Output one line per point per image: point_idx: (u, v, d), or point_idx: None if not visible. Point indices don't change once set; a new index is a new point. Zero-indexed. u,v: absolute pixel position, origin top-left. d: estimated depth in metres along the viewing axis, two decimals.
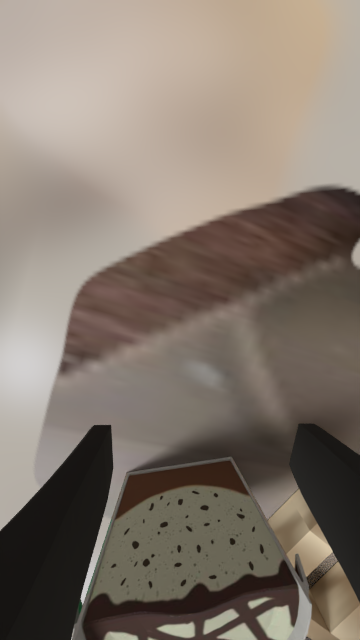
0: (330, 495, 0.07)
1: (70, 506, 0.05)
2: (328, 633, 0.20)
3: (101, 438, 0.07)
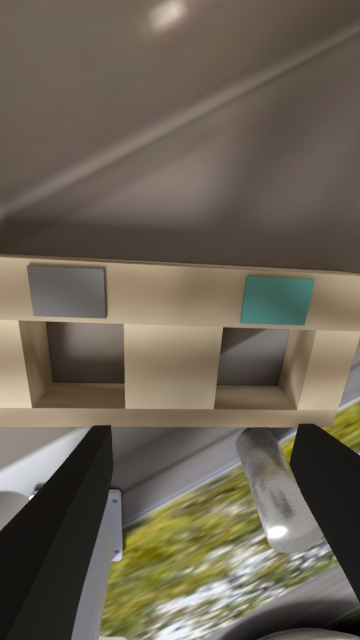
0: (330, 495, 0.07)
1: (70, 506, 0.05)
2: (124, 410, 0.16)
3: (101, 438, 0.07)
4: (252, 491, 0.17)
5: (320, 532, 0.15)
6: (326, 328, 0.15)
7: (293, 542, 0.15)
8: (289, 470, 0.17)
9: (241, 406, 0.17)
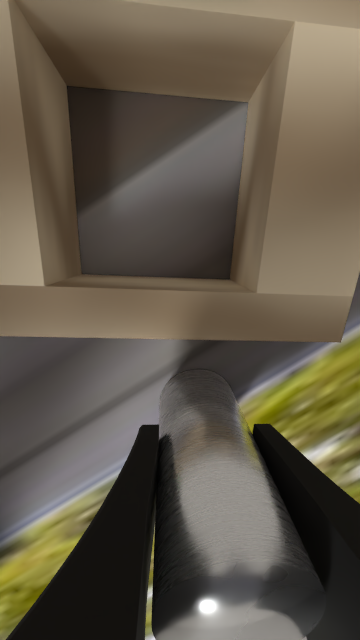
0: None
1: (148, 504, 0.05)
2: None
3: (155, 437, 0.08)
4: (156, 490, 0.07)
5: (313, 611, 0.05)
6: (323, 15, 0.05)
7: None
8: (241, 440, 0.07)
9: (121, 287, 0.07)
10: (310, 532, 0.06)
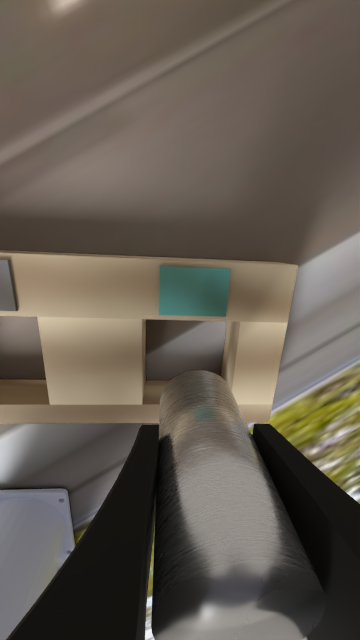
0: None
1: (148, 504, 0.05)
2: (48, 406, 0.15)
3: (155, 437, 0.08)
4: (156, 492, 0.07)
5: (312, 611, 0.05)
6: (250, 319, 0.14)
7: None
8: (240, 441, 0.07)
9: None
10: (310, 532, 0.06)
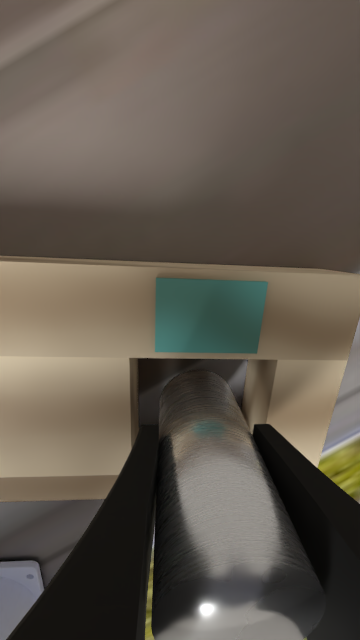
0: None
1: (147, 504, 0.05)
2: None
3: (155, 437, 0.08)
4: (156, 492, 0.07)
5: (313, 611, 0.05)
6: (293, 356, 0.10)
7: None
8: (240, 441, 0.07)
9: None
10: (310, 532, 0.06)
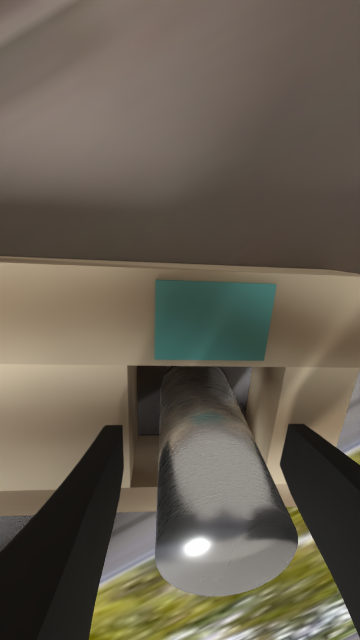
0: (317, 495, 0.07)
1: (89, 505, 0.05)
2: None
3: (114, 438, 0.07)
4: (158, 461, 0.08)
5: (287, 546, 0.06)
6: (302, 363, 0.09)
7: (223, 573, 0.06)
8: (231, 416, 0.08)
9: None
10: None
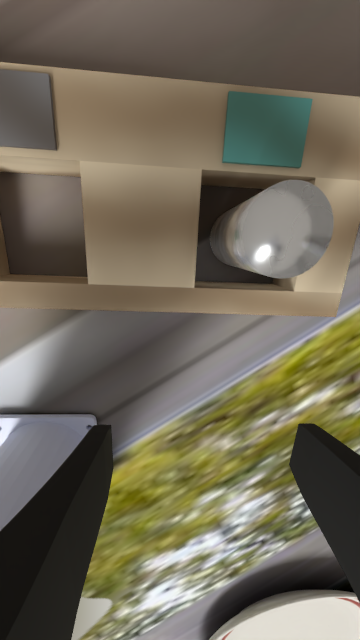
0: (330, 495, 0.07)
1: (70, 506, 0.05)
2: (87, 286, 0.13)
3: (101, 438, 0.07)
4: (225, 235, 0.12)
5: (326, 231, 0.09)
6: (327, 175, 0.12)
7: (284, 253, 0.09)
8: None
9: (227, 288, 0.14)
10: None
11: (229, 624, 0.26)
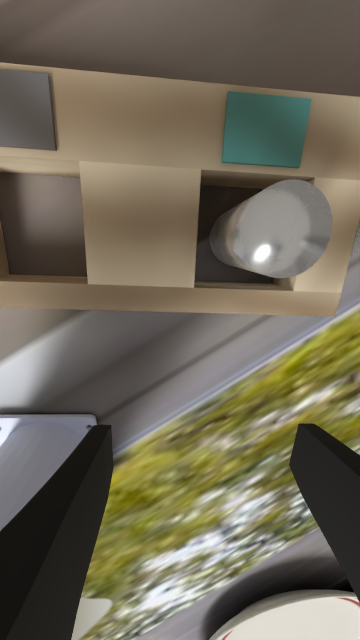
0: (330, 495, 0.07)
1: (70, 506, 0.05)
2: (86, 286, 0.13)
3: (101, 438, 0.07)
4: (225, 235, 0.12)
5: (325, 230, 0.09)
6: (326, 174, 0.12)
7: (283, 253, 0.09)
8: None
9: (227, 288, 0.14)
10: None
11: (229, 624, 0.25)
